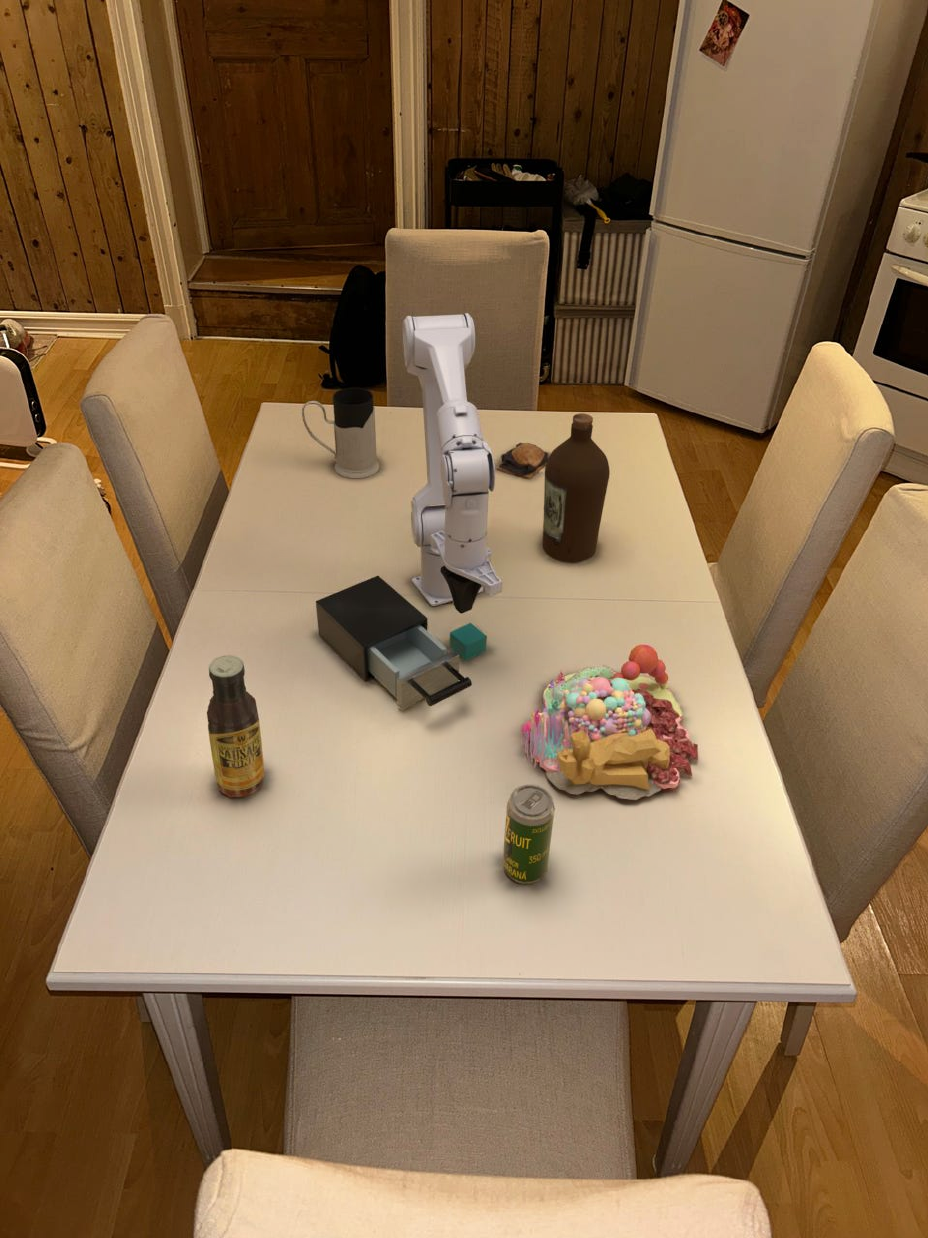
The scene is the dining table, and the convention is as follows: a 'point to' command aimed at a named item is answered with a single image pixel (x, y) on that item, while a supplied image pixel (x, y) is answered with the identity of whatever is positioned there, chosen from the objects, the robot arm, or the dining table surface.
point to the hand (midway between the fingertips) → (463, 609)
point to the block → (468, 641)
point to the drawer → (416, 668)
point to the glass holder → (352, 432)
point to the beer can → (528, 833)
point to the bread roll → (523, 460)
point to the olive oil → (574, 494)
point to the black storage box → (364, 620)
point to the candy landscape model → (612, 730)
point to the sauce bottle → (234, 730)
